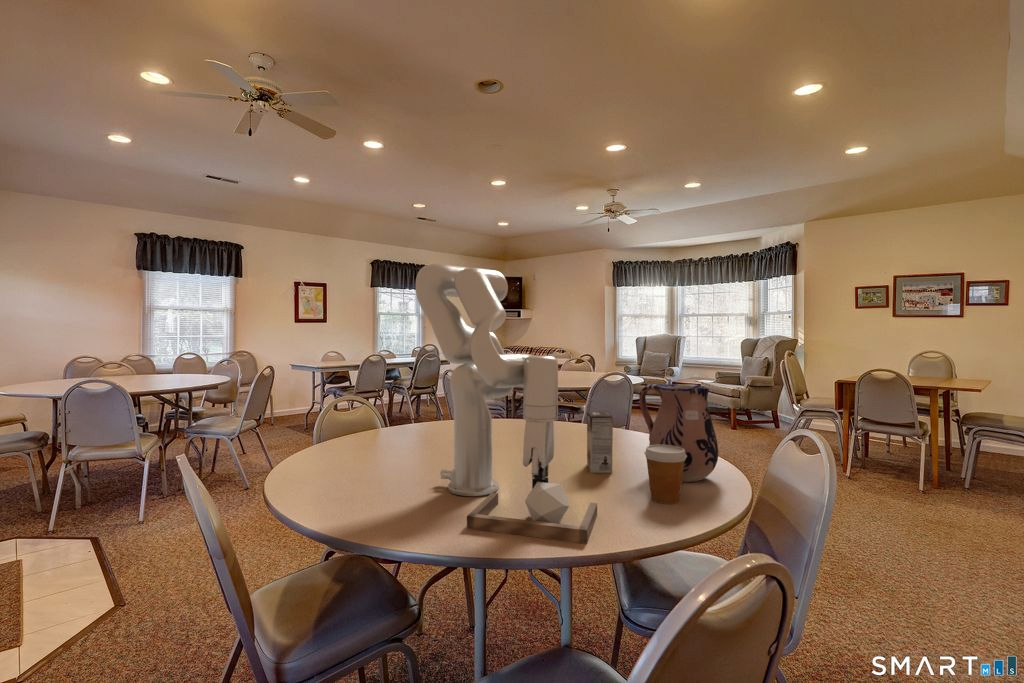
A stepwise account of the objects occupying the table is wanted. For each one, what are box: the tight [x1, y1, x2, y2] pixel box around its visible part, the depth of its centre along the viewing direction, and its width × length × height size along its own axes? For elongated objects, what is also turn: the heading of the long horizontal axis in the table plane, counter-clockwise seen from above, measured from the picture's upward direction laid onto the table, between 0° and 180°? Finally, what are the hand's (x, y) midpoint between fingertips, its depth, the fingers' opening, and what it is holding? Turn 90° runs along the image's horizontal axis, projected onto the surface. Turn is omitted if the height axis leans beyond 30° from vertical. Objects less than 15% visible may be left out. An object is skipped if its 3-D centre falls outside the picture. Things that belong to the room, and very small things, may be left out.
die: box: [524, 482, 570, 524], centre depth 100 cm, size 8×9×10 cm
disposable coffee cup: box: [644, 445, 687, 505], centre depth 114 cm, size 10×10×12 cm
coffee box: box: [586, 410, 614, 474], centre depth 140 cm, size 9×6×16 cm
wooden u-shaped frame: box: [466, 492, 598, 545], centre depth 101 cm, size 24×15×2 cm, turn 73°
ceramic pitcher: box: [638, 383, 719, 483], centre depth 132 cm, size 18×21×25 cm
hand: (540, 495), depth 106 cm, fingers closed
